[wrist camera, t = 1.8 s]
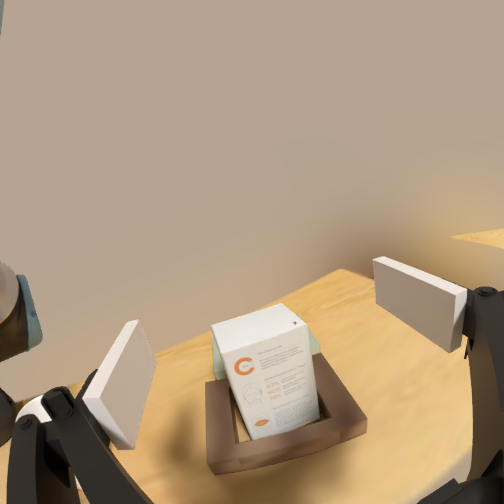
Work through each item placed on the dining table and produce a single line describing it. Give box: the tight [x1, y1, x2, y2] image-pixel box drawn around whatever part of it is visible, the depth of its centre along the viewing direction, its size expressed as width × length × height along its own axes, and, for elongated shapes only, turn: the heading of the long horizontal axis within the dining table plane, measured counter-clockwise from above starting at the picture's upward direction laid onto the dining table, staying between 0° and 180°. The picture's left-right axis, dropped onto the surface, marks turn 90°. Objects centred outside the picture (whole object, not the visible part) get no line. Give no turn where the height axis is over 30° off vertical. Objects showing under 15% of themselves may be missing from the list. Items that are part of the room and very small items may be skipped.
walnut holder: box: [205, 353, 367, 475], centre depth 29 cm, size 16×14×2 cm
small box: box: [211, 303, 320, 440], centre depth 28 cm, size 8×6×13 cm
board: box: [213, 314, 321, 380], centre depth 45 cm, size 16×12×2 cm
